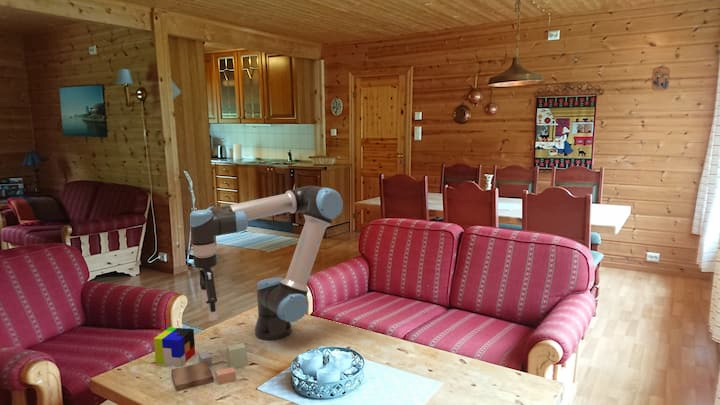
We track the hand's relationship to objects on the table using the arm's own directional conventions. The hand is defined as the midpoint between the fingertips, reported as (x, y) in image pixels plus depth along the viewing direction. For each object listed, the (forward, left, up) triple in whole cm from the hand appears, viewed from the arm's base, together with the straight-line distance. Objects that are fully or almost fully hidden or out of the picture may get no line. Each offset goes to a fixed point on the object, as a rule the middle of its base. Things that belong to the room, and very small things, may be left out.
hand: (210, 313), depth 170 cm
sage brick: (-8, +2, -21) cm, 22 cm away
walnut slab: (+8, +4, -21) cm, 22 cm away
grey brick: (+2, -5, -21) cm, 21 cm away
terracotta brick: (-2, +11, -21) cm, 24 cm away
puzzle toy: (+11, -14, -21) cm, 27 cm away
